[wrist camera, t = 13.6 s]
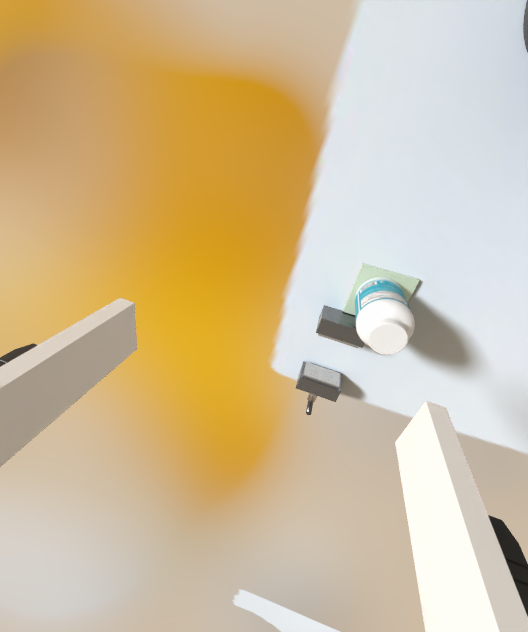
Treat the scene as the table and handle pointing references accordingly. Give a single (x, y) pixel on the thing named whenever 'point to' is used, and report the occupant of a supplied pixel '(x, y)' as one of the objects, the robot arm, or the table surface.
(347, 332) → the vise
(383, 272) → the pad
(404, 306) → the pill bottle
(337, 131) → the table surface
